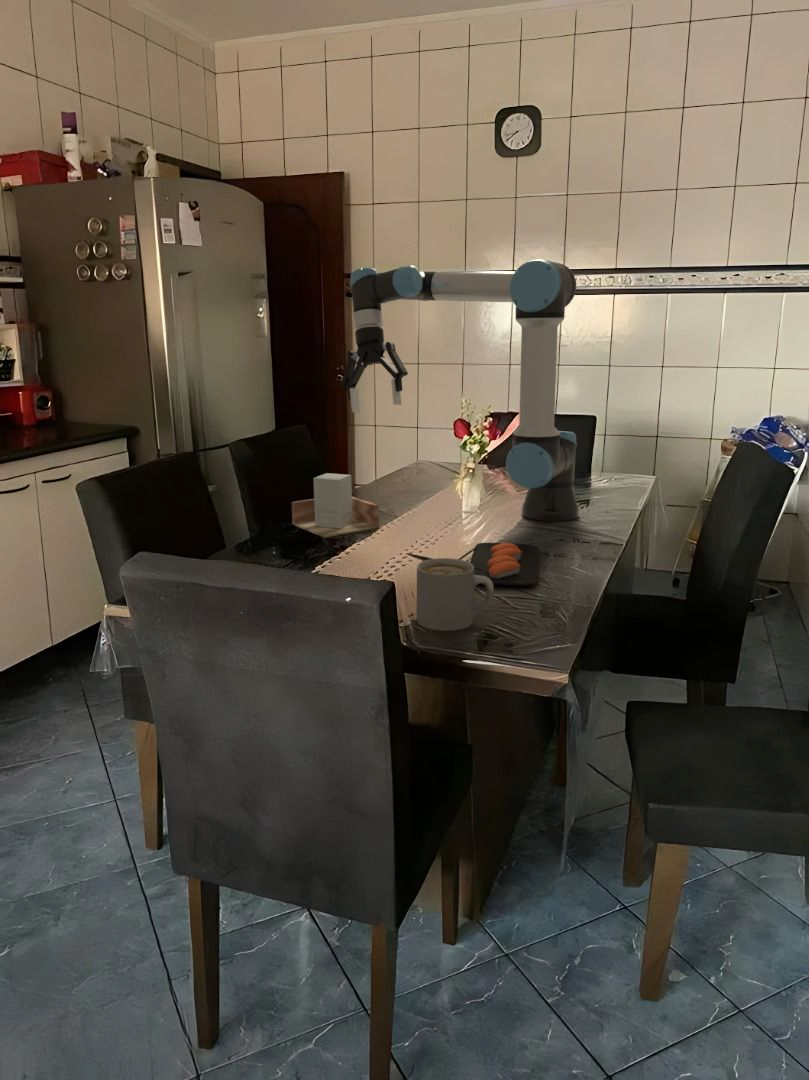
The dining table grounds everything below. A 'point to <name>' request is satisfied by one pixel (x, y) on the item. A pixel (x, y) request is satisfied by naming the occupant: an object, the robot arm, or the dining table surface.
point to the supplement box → (333, 500)
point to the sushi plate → (504, 563)
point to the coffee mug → (449, 594)
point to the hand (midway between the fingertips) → (376, 408)
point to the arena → (362, 519)
